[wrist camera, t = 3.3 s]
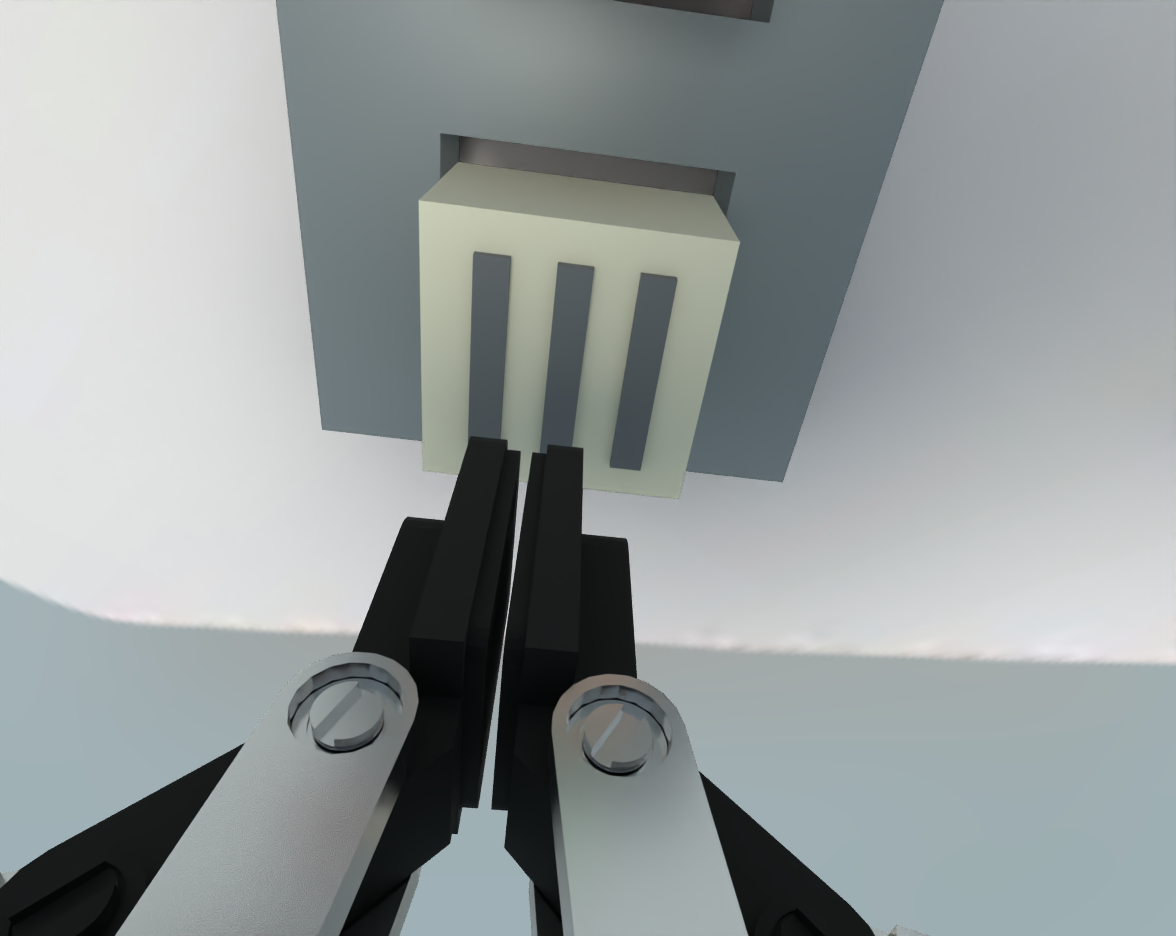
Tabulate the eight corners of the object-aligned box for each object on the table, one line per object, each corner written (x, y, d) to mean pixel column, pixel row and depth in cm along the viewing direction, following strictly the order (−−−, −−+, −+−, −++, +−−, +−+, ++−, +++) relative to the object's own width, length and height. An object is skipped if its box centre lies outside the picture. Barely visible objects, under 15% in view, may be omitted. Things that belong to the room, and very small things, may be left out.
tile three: (712, 196, 16) (742, 244, 13) (666, 416, 19) (679, 504, 16) (458, 161, 16) (416, 202, 12) (455, 391, 19) (420, 475, 16)
